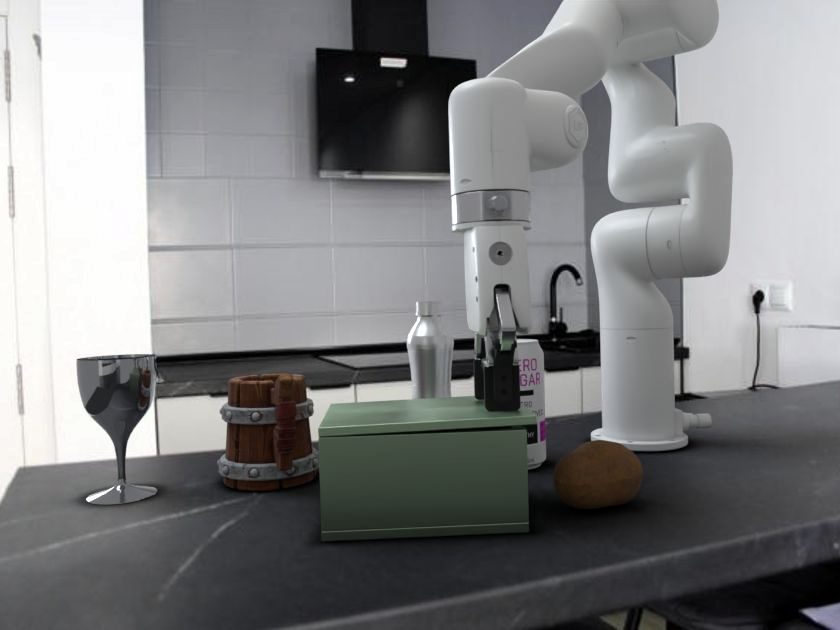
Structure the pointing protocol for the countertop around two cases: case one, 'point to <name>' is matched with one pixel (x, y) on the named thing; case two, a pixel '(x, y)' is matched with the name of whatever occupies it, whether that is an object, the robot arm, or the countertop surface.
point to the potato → (598, 475)
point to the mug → (268, 433)
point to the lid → (418, 416)
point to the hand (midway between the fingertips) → (496, 402)
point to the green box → (424, 484)
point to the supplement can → (533, 398)
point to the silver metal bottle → (430, 352)
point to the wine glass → (118, 410)
